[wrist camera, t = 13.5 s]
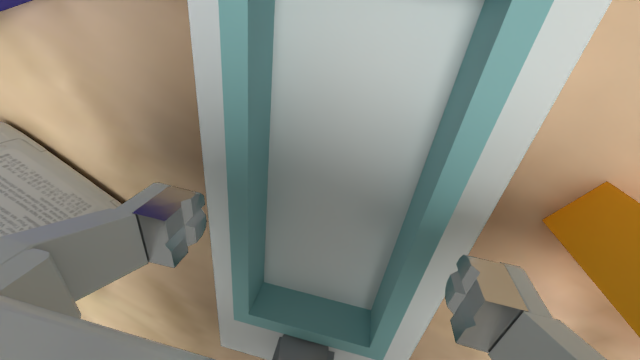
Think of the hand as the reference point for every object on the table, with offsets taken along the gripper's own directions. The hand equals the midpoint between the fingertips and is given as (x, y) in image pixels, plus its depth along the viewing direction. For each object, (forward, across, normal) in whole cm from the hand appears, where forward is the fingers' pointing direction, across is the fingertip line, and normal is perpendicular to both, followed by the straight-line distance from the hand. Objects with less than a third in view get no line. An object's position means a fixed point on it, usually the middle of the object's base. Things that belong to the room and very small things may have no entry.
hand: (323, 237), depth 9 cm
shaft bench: (+5, 0, 0) cm, 5 cm away
